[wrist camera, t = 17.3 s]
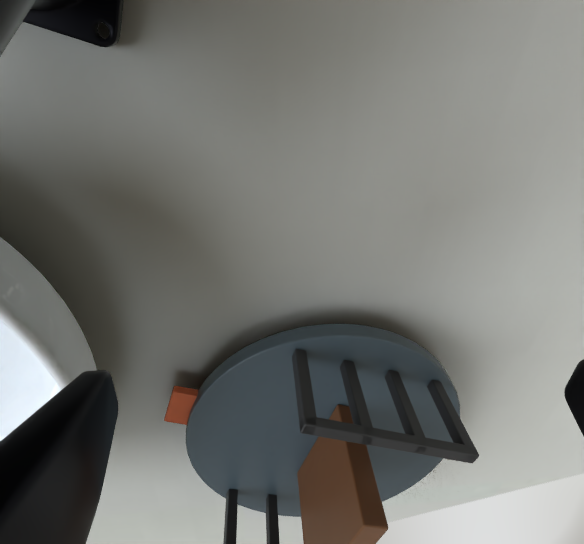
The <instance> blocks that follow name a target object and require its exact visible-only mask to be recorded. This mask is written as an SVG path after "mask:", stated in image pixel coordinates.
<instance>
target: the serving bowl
mask: <svg viewBox="0 0 584 544" xmlns="http://www.w3.org/2000/svg"><path fill="white" fill-rule="evenodd" d="M85 371H97V368H96V365H95V362H94V359H93V355H92V352H91V350H90V348H89V345H88V343H87V340H86V338H85V336H84V334H83V332H82V330H81V328H80V326H79V324H78V323H77V321H76V319H75V317H74V316H73V314H72V313H71V311H70V310H69V308H68V307H67V305H66V303H65V302H64V301H63V299H62V298H61V297H60V296H59V294H58V293H57V292H56V290H55V289H54V288H53V287H52V285H51V284H50V283H49V282H48V281H47V280H46V278H45V277H44V276H43V275H42V274H41V273H40V272H39V271H38V270H37V269H36V268H35V267H34V266H33V265H32V264H31V263H30V262H29V261H28V260H27V259H26V258H25V257H24V256H23V255H21V254H20V253H19V252H18V251H17V250H16V249H14V248H13V247H12V246H11V245H10V244H9V243H7V242H6V241H5V240H4V239H2V238H1V237H0V441H1V440H2V439H4V438H5V437H6V436H7V435H8V434H10V433H11V432H12V431H13V430H14V429H16V428H17V427H18V426H19V425H20V424H22V423H23V422H24V421H25V420H26V419H27V418H29V417H30V416H31V415H32V414H33V413H35V412H36V411H37V410H38V409H39V408H41V407H42V406H43V405H44V404H45V403H46V402H48V401H49V400H50V399H51V398H52V397H54V396H55V395H56V394H57V393H58V392H60V391H61V390H62V389H63V388H64V387H66V386H67V385H68V384H69V383H70V382H71V381H73V380H74V379H75V378H76V377H77V376H79V375H80V374H81V373H83V372H85Z"/></svg>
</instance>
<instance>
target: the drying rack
mask: <svg viewBox="0 0 584 544" xmlns="http://www.w3.org/2000/svg"><path fill="white" fill-rule="evenodd" d="M164 421H167V422H173V423H179V424H185V425H187V428H186V446H187V452H188V456H189V458H190V461H191V463H192V466H193V467H194V469H195V470H196V472H197V474H198V475H199V476H200V477H201V479H202V480H203V481H204V482H205V483H206V484H207V485H208V486H209V487H210V488H212V489H213V490H214V491H215V492H217V493H218V494H220V495H221V496H223V497H225V498H226V511H225V528H224V544H236V530H237V504H238V505H241V506H244V507H247V508H249V509H252V510H256V511H260V512H264V513H266V529H267V544H279V527H278V515H283V516H295V517H301V519H302V529H303V540H304V544H376V542H377V541H378V540H379V539H380V538H381V537H382V535H383V534H384V533H385V532H386V531H387V530H388V524H387V521H386V517H385V513H384V509H383V506H382V501H385V500H387V499H389V498H391V497H393V496H395V495H397V494H399V493H401V492H403V491H405V490H406V489H408V488H410V487H411V486H413V485H414V484H416V483H417V482H418V481H420V480H421V479H423V478H424V477H425V476H426V475H427V474H428V473H430V472H431V471H432V470H433V469H434V468H435V467H436V466H437V465H438V464H439V463H440V461H441V460H442V459H443V458H445V459H451V460H456V461H462V462H468V463H473V462H474V461H475V460H476V459H477V458H478V457H479V454H478V452H477V450H476V448H475V446H474V444H473V443H472V441H471V439H470V437H469V435H468V433H467V431H466V429H465V427H464V425H463V423H462V421H461V419H460V404H459V400H458V396H457V392H456V390H455V388H454V386H453V384H452V382H451V380H450V378H449V376H448V374H447V373H446V371H445V369H444V368H443V367H442V365H441V364H440V363H439V361H438V360H437V359H436V358H435V357H434V356H433V355H432V354H430V353H429V352H428V351H427V350H426V349H424V348H423V347H421V346H420V345H418V344H417V343H415V342H414V341H412V340H410V339H408V338H405V337H403V336H401V335H399V334H396V333H393V332H390V331H387V330H384V329H380V328H375V327H370V326H364V325H354V324H320V325H313V326H306V327H300V328H296V329H291V330H287V331H283V332H280V333H277V334H274V335H271V336H269V337H266V338H263V339H261V340H259V341H257V342H255V343H253V344H250V345H248V346H246V347H245V348H243V349H241V350H240V351H238V352H237V353H235V354H233V355H232V356H230V357H229V358H228V359H227V360H225V361H224V362H223V363H222V364H221V365H219V366H218V367H217V368H216V369H215V370H214V371H213V372H212V373H211V374H210V375H209V377H208V378H207V379H206V380H205V381H204V383H203V384H202V386H201V387H200V389H199V390H196V389H191V388H185V387H180V386H174V388H173V391H172V395H171V398H170V401H169V404H168V408H167V411H166V414H165V419H164Z"/></svg>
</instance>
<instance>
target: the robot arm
mask: <svg viewBox="0 0 584 544" xmlns="http://www.w3.org/2000/svg"><path fill="white" fill-rule="evenodd" d="M122 9H123V0H0V56H1V54H2V53H3V51H4V50H5V48H6V47H7V45H8V43H9V42H10V40H11V39H12V37H13V36H14V34H15V32H16V31H17V29H18V28H19V26H20V25H21V23H22V21H23V22H26V23H29V24H32V25H35V26H39V27H42V28H45V29H48V30H51V31H54V32H57V33H60V34H63V35H66V36H70V37H73V38H76V39H79V40H82V41H85V42H88V43H91V44H94V45H98V46H101V47H110V46H113V45H115V44H116V43H117V42H118V41H119V37H120V31H121V20H122ZM102 22H103V23H104V24H106V25H107V27H108V28H109V32H110V34H109V36H108V38H106V39H105V38H103V37H101V36H100V34H99V33H98V25H99V24H100V23H102ZM565 398H566V401H567V403H568V405H569V408H570V410H571V412H572V414H573V416H574V418H575V420H576V422H577V424H578V426H579V428H580V430H581V432H582V434H583V436H584V360H582V361H580V362H579V363H578V365H577V367H576V369H575V370H574V372H573V374H572V376H571V378H570V380H569V382H568V383H567V385H566V387H565ZM117 415H118V400H117V396H116V392H115V388H114V384H113V380H112V377H111V374H110V373H109V372H108V371H106V370H97V371H85V372H83V373H81V374H80V375H79V376H77V377H76V378H75V379H74V380H73V381H71V382H70V383H69V384H68V385H67V386H66V387H64V388H63V389H62V390H61V391H60V392H58V393H57V394H56V395H55V396H54V397H52V398H51V399H50V400H49V401H48V402H46V403H45V404H44V405H43V406H42V407H41V408H39V409H38V410H37V411H36V412H35V413H33V414H32V415H31V416H30V417H29V418H27V419H26V420H25V421H24V422H23V423H22V424H20V425H19V426H18V427H17V428H16V429H14V430H13V431H12V432H11V433H10V434H8V435H7V436H6V437H5V438H4V439H2V440H1V441H0V544H86V541H87V538H88V535H89V531H90V528H91V525H92V522H93V519H94V516H95V513H96V510H97V506H98V503H99V499H100V495H101V491H102V487H103V482H104V477H105V472H106V468H107V463H108V458H109V454H110V449H111V444H112V439H113V435H114V430H115V425H116V420H117Z"/></svg>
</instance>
